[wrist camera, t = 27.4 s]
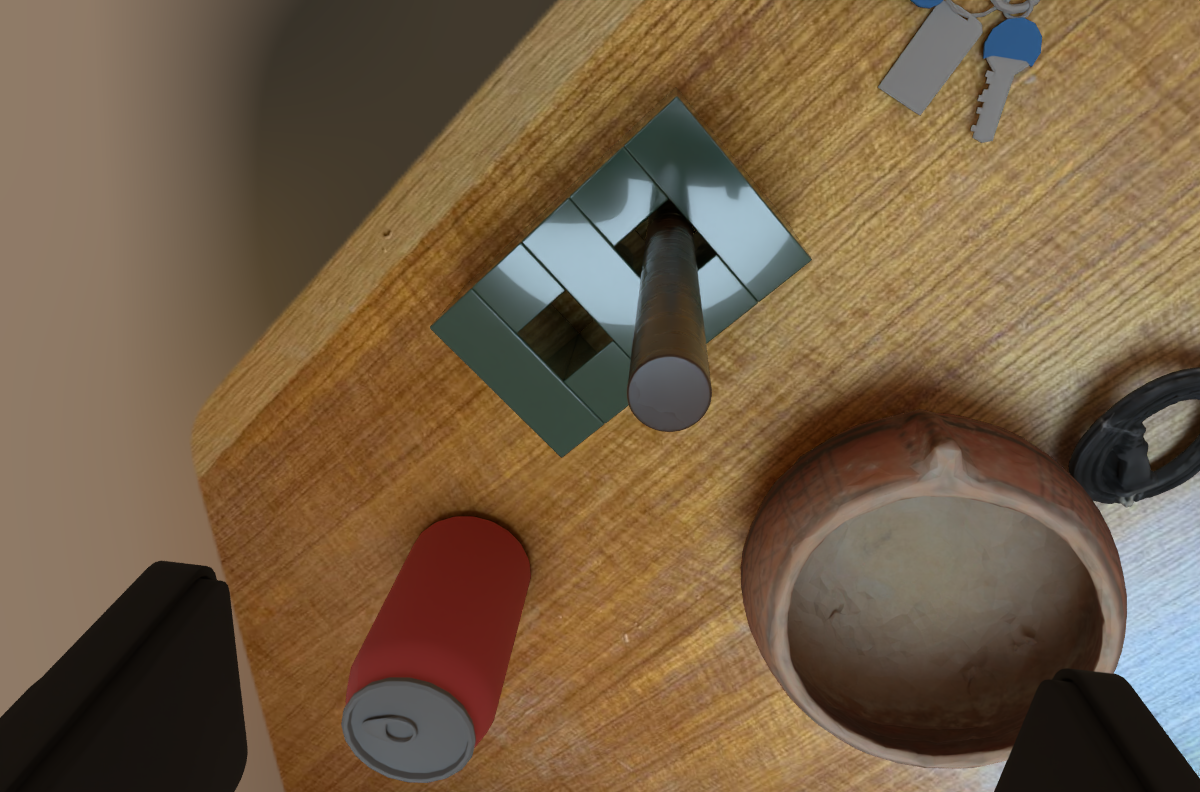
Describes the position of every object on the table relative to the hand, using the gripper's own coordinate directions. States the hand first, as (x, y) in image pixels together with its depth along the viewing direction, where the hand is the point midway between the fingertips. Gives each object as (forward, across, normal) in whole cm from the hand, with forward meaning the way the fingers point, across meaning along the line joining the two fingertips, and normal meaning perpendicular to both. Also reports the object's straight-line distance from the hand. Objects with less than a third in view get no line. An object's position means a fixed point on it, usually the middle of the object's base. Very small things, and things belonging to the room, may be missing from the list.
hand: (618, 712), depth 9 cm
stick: (+28, -1, 0) cm, 29 cm away
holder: (+29, +1, +2) cm, 29 cm away
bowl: (+28, -14, +14) cm, 35 cm away
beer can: (+29, +7, +20) cm, 36 cm away
